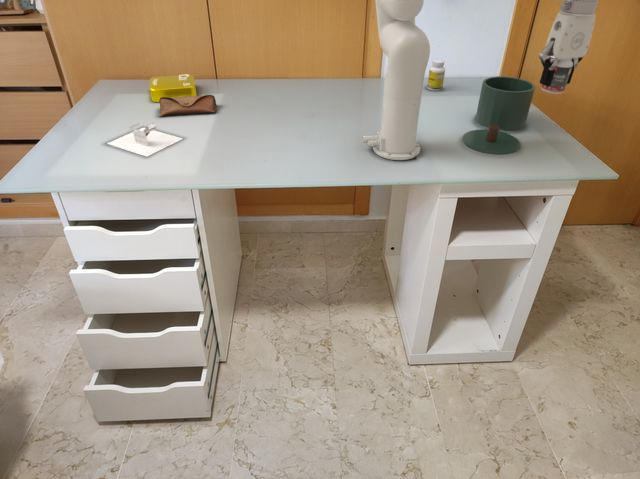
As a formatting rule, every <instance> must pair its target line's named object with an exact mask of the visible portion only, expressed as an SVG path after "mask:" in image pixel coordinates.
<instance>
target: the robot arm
mask: <svg viewBox="0 0 640 479" xmlns="http://www.w3.org/2000/svg"><path fill="white" fill-rule="evenodd" d="M374 1H375V2H374V3H375V11H376V24H377V33H378V40H379V45H380V48H381V49H382V52H383V53H384V54H385V56H387V67H386V72H385V77H384V84H383V94H382V96H383V97H382V107H381V118H380V120H381V122H380V130H378V131H377V134H374V135H362V139H361V140H362V144H367V146H369V147H372V148H373V152H374V153H375V154H376V155H378V156H379V157H381V158H382V159H383V158H384V159H386V160H392V161H406V160H411V159H414V158H416V157H417V156H418V155H419V154H420V153H421V146H420V145H419V144H418V142H416V140H417V135H418V134H417V132H418V124H419V118H420V110H421V104H422V93H423V85H424V79H425V74H426V71H427V67H428V63H429V59H430V54H431V45H430V40H429V38H428V36H427V35H426V33H425V32H424V30H422V29H421V28H420V27H418V26H417V25H416V17H417V16H419V14H420V13H421V11H422V9H423V6H424V2H425V0H374ZM598 3H599V0H562V2H561V3H560V5H559V12H558V13H557V15H556V16H555V19H554V21H553V23H552V26H551V29H550V31H549V34H548V36H547V40H546V43H545V46H544V48H543V49H542V50H541V51H540V52H539V53H538V59H539V60H540V63H541V66H542V73H541V76H540V79H539V84H541V85H542V84H543V85H545V86H550V85H551V82H552V79H553V76H554V73H555V70H553V69H554V67H555V66H556V64H557V62H558V60H562V59H572V60H571V61H572V62H573V67H572V70H571V73H570V76H569V78H568V81H567V84H566V85H569V84H571V81H572V79H573V78H572V77H573V75H574V72H575V69H577V67H578V66H579V63H580V62H581V61H582V60H583V58H584V57H585V56H586V55H587V54H588V53H589V47H590V45H591V42H592V41H591V40H592V37H593V33H594V30H595V24H596V13H595V12H596V9H597V7H598ZM551 59H553V61H552V63H551V62H550V61H551Z"/></svg>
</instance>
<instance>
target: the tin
mask: <svg viewBox="0 0 640 479" xmlns="http://www.w3.org/2000/svg"><path fill="white" fill-rule="evenodd" d="M535 89H536V85H535V84H534V83H533V82H531V81H529V80H527V79H523V78H519V77H514V76H491V77H487V78H485V79H484V80H482V84H481V89H480V93H479V98H478V104H477V109H476V113H475V118H474V119H475V123H477V124H478V125H479V126H481V127H484V128H486V129H488V128H489V125H490V124H496V125H499V126H500V128H499V131H500V132H514V131H519V130H522V129H524V127H525V126H526V123H527V119H528V117H529V113H530V108H531V104H532V101H533V97H534V94H535Z"/></svg>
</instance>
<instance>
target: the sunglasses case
mask: <svg viewBox="0 0 640 479" xmlns="http://www.w3.org/2000/svg"><path fill="white" fill-rule="evenodd" d="M158 103H159V114H158V116H159V117H168V116H187V115H191V116H193V115H204V114H212V113H217V107H218V106H217V100H216V96H214V95H213V94H205V95H197V96H187V97H162V98H160V100H159V102H158Z"/></svg>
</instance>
